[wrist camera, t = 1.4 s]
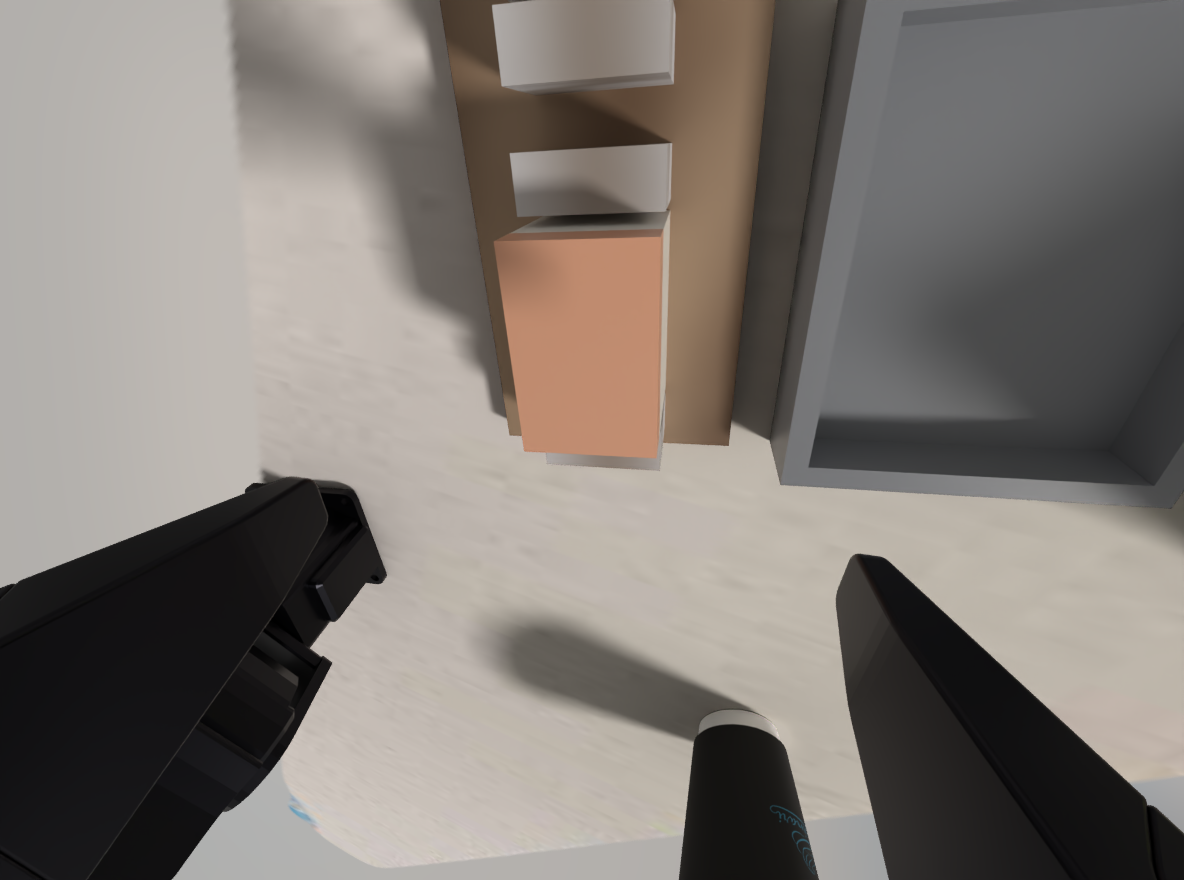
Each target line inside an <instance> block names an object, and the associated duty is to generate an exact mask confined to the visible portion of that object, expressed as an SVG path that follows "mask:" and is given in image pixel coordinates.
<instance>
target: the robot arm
mask: <svg viewBox="0 0 1184 880" xmlns="http://www.w3.org/2000/svg"><path fill="white" fill-rule="evenodd" d="M386 576H387V574H386V571H385V568H384V566H383V563H382V560H381V557H380V555H379V552H378V549H377V547H376V544H375V541H374V539H373V536H372V533H371V531H370V528H369V525H368V523H367V520H366V517H365V515H364V512H363V509H362V506H361V504H360V501H359V498H358V497H357V495H356V494H355V493H354V492H352V491H350V490H345V489H332V488H318V486H317V484H316V483H315V482H314V481H313V480H311V479H308V478H301V477H286V478H283V479H281V480H278V481H276V482H273V483H270V484H263V483H253V484H251V485H250V486H249V487H247V488H246V489H245V494H242V495H240V496H237V497H234V498H232V499H229V500H227V501H224V502H222V503H219V504H216V505H214V506H211V507H209V508H206V509H203V510H201V511H198V512H196V513H193V514H190V515H188V516H186V517H183V518H180V519H178V520H175V521H172V522H170V523H167V524H165V525H162V526H160V527H157V528H154V529H152V530H149V531H147V532H144V533H141V534H139V535H136V536H134V537H131V538H129V539H126V540H123V541H121V542H118V543H116V544H113V545H110V546H108V547H105V548H103V549H100V550H98V551H95V552H92V553H90V554H87V555H85V556H82V557H80V558H77V559H74V560H72V561H69V562H67V563H64V564H62V565H59V566H56V567H54V568H51V569H49V570H46V571H43V572H41V573H38V574H36V575H33V576H31V577H28V578H26V579H23V580H21V581H19V582H18V583H17V584H10V585H7V586H5V587H2V588H0V880H172V879H173V877H174V876H175V875H176V874H177V872H178V871H179V870H180V868H181V867H182V865H183V864H184V863H185V861H186V860H187V859H188V857H189V856H190V854H191V853H192V852H193V850H194V849H195V848H196V846H197V845H198V843H199V842H200V841H201V839H202V838H203V836H204V835H205V834H206V832H207V831H208V830H209V828H210V827H211V826H212V824H213V823H214V822H215V820H216V819H217V818H218V817H219V815H220V814H221V813H222V812H227V811H229V810H231V809H233V808H234V807H235V806H237V805H238V804H240V803H241V802H242V801H243V800H244V799H245V798H246V797H248V796H249V795H250V794H251V793H252V792H253V791H254V789H255V788H256V787H257V786H258V785H259V784H260V783H261V782H262V781H263V780H264V778H265V777H266V776H267V775H268V774H269V773H270V771H271V770H272V769H273V768H274V766H275V765H276V764H277V762H278V761H279V760H280V758H281V757H282V755H283V754H284V752H285V751H286V749H287V748H288V746H289V744H290V743H291V741H292V739H293V737H294V735H295V734H296V732H297V730H298V728H299V726H300V724H301V722H302V720H303V718H304V716H305V714H306V713H307V711H308V709H309V707H310V705H311V703H312V701H313V699H314V697H315V695H316V693H317V692H318V690H319V688H320V686H321V684H322V682H323V680H324V678H325V676H326V674H327V672H328V671H329V669H330V667H331V665H332V662H331V661H330V660H328V659H327V658H326V657H324V656H322V657H321V656H319V655H318V654H317V653H315V652H314V651H313V650H311V649H310V647H311V646H312V645H313V643H314V642H315V641H316V639H317V638H318V637H319V635H320V634H321V633H322V631H323V630H324V629H325V627H326V626H327V625H328V623H329V622H336V621H337V620H338V619H339V618H340V617H341V615H342V614H343V613H344V611H345V610H346V609H347V607H348V606H349V605H350V603H351V602H352V601H353V599H354V598H355V597H356V595H357V594H358V592H359V591H360V590H361V588H362V587H363V586H364V584H365V583H372V584H381V583H382V582H383V581H384V580H385V578H386ZM836 610H837V619H838V627H839V636H840V644H841V653H842V661H843V669H844V678H845V686H846V694H847V701H848V707H849V711H850V716H851V721H852V725H853V730H854V734H855V738H856V742H857V747H858V751H859V755H860V759H861V764H862V768H863V772H864V776H865V780H866V785H867V789H868V793H869V797H870V802H871V806H872V810H873V814H874V818H875V823H876V827H877V831H878V835H879V840H880V844H881V848H882V852H883V857H884V861H885V865H886V869H887V874H888V878H889V880H1184V833H1183V832H1182V831H1181V830H1180V829H1178V828H1177V827H1176V826H1175V825H1174V824H1173V823H1172V822H1171V821H1170V820H1169V819H1168V818H1167V817H1165V816H1164V815H1163V814H1162V813H1161V812H1160V811H1159V810H1158V809H1157V808H1155V807H1154V806H1151V805H1147V802H1146V799H1145V798H1144V796H1143V795H1141V794H1140V793H1139V792H1138V791H1137V790H1136V789H1135V788H1134V787H1133V786H1132V785H1131V784H1130V783H1128V782H1127V781H1126V780H1125V779H1124V778H1123V777H1122V776H1121V775H1120V774H1119V773H1118V772H1117V771H1115V770H1114V769H1113V768H1112V767H1111V766H1110V765H1109V764H1108V763H1107V762H1106V761H1105V760H1104V759H1102V758H1101V757H1100V756H1099V755H1098V754H1097V753H1096V752H1095V751H1094V750H1093V749H1092V748H1091V747H1089V746H1088V745H1087V744H1086V743H1085V742H1084V741H1083V740H1082V739H1081V738H1080V737H1079V736H1078V735H1076V734H1075V733H1074V732H1073V731H1072V730H1071V729H1070V728H1069V727H1068V726H1067V725H1066V724H1065V723H1063V722H1062V721H1061V720H1060V719H1059V718H1058V717H1057V716H1056V715H1055V714H1054V713H1053V712H1052V711H1050V710H1049V709H1048V708H1047V707H1046V706H1045V705H1044V704H1043V703H1042V702H1041V701H1040V700H1039V699H1037V698H1036V697H1035V696H1034V695H1033V694H1032V693H1031V692H1030V691H1029V690H1028V689H1027V688H1026V687H1024V686H1023V685H1022V684H1021V683H1020V682H1019V681H1018V680H1017V679H1016V678H1015V677H1014V676H1013V675H1011V674H1010V673H1009V672H1008V671H1007V670H1006V669H1005V668H1004V667H1003V666H1002V665H1001V664H1000V663H998V662H997V661H996V660H995V659H994V658H993V657H992V656H991V655H990V654H989V653H988V652H987V651H985V650H984V649H983V648H982V647H981V646H980V645H979V644H978V643H977V642H976V641H975V640H974V639H972V638H971V637H970V636H969V635H968V634H967V633H966V632H965V631H964V630H963V629H962V628H961V627H959V626H958V625H957V624H956V623H955V622H954V621H953V620H952V619H951V618H950V617H949V616H948V615H947V614H945V613H944V612H943V611H942V610H941V609H940V608H939V607H938V606H937V605H936V604H935V603H934V602H932V601H931V600H930V599H929V598H928V597H927V596H926V595H925V594H924V593H923V592H922V591H921V590H919V589H918V588H917V587H916V586H915V585H914V584H913V583H912V582H911V581H910V580H909V579H908V578H906V577H905V576H904V575H903V574H902V573H901V572H900V571H899V570H898V569H897V568H896V567H895V566H893V565H892V564H891V563H890V562H889V561H888V560H886V559H885V558H883V557H880V556H872V555H865V554H855V555H853V556H852V557H851V559H850V560H849V563H848V565H847V568H846V570H845V573H844V575H843V577H842V580H841V582H840V585H839V587H838V590H837V594H836Z"/></svg>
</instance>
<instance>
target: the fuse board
mask: <svg viewBox="0 0 1184 880" xmlns="http://www.w3.org/2000/svg"><path fill="white" fill-rule="evenodd" d="M775 2H776V0H531V1H523V2H514V3H510V2H509V1H507V0H440V5H441V11H442V17H443V23H444V30H445V36H446V42H447V48H448V55H449V61H450V67H451V73H452V79H453V86H454V92H455V98H456V104H457V111H458V117H459V123H460V129H461V135H462V142H463V148H464V154H465V160H466V167H467V173H468V179H469V185H470V191H471V198H472V204H473V210H474V216H475V222H476V229H477V235H478V241H479V247H480V254H481V260H482V266H483V272H484V278H485V285H486V291H487V297H488V303H489V310H490V316H491V322H492V328H493V334H494V341H495V347H496V353H497V359H498V366H499V372H500V378H501V384H502V390H503V397H504V403H505V409H506V415H507V421H508V428H509V434H510V435H513V436H522V432H521V426H520V419H519V412H518V405H517V398H516V391H515V384H514V378H513V371H512V364H511V357H510V350H509V343H508V337H507V330H506V323H505V316H504V309H503V302H502V295H501V289H500V282H499V275H498V268H497V261H496V254H495V248H494V241H495V240H497V239H499V238H501V237H503V236H505V235H507V234H509V233H511V232H513V231H515V230H517V229H519V228H521V227H523V226H525V225H527V224H529V223H531V222H533V221H535V220H537V219H539V218H541V217H543V216H555V215H583V214H611V213H639V212H666V210H670V243H669V280H668V318H667V355H666V387H665V395H664V403H663V411H662V420H661V428H660V436H659V444H658V452H657V458H638V457H619V456H601V455H582V454H563V453H546V460H547V464H553V465H571V466H588V467H605V468H622V469H640V470H657V471H660V465H661V456H662V446H663V443H681V444H702V445H723V446H729V437H730V428H731V418H732V409H733V399H734V390H735V380H736V371H737V361H738V352H739V342H740V333H741V324H742V314H743V305H744V295H745V286H746V276H747V267H748V257H749V248H750V238H751V229H752V219H753V210H754V201H755V191H756V182H757V172H758V163H759V153H760V144H761V134H762V125H763V115H764V106H765V97H766V87H767V78H768V68H769V59H770V49H771V40H772V30H773V21H774V11H775Z"/></svg>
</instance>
